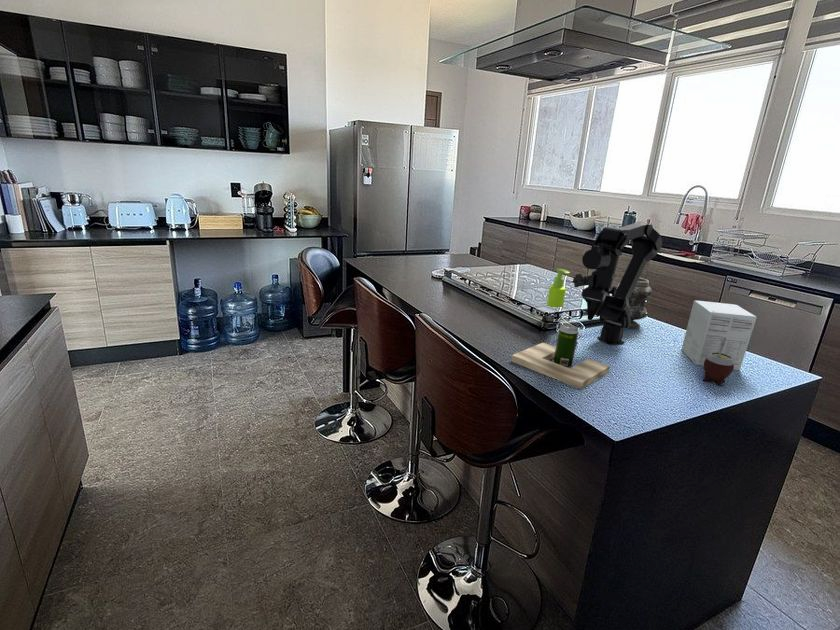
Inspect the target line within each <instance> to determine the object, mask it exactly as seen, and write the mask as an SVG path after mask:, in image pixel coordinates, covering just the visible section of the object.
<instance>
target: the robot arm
mask: <svg viewBox="0 0 840 630" xmlns="http://www.w3.org/2000/svg"><path fill="white" fill-rule="evenodd" d="M629 241H630V242H631V244H632V246H631V253H632V257H631V259H630V261H629V263H628V265H627V267H626V269H625V272H624V273H623V276H622V278H621V280H620V281H619V283H620V284H619V283H618V284H619V286H618V285H617V287H616V286H615V285H613V284H614V283H613V282H614V279H615V278H616V276H617V273H616V271H617V270H616V269H617V266H618V263H619V259H620V256H622V255H623V253H622V250H623V249H624V247H626V246H627V245H628V244H629ZM662 246H663V239H662V237H661V234H660V233H659V232H658V230H655V228H654V227H653V224H652V223H650V222H645V221H635V222H634V223H631V224H628V225H624V226H621V227H616V226H614V227H613V226H604V227H603V228H602V230H601V231H600V232H599V234H598V235H597V236H596V239H594V241H593V243H592V244H591V248H590V249H588V250H587V251H586V252H585V253H584V254H583V255H582V259H581V260H582V261H581V262H582V264H583V266H584V267H585V268H586V269H589V270H593V271H591V274H589V275H584V274H583V273H578V274H577V273H576V274H575V275H574V277H573V278H572V283H573V286H574V288H579V287H584V286H587V287H584V288H583V289H582V291H581V295H580V296H581V297H582V299H583V300H584V301H585V302H586V307H587V311H586V313H587V320H588V321H592V320H593V318H594V317H595V316H596V317H599V322H600V323H603V325H602V327H601V331H600V336H599V335H598V336H597V337H596V338H597V339H598V340H600V341H602V342H604V343H605V344H608V345H621V344H625V343H626V342H625V341H623V340H622V339H623V334H624V330H625V329H630V328H629V326H630V323H631V318H630V315H629V310H630V306H629V298H630V296H631V294H632V292H633V290H634V288H635V286H636V284H637V281H638V279H639V278H641V275H642V273H643V272H644V270H645V267H646V265H647V263H648V262H649V261H651V260H652V259H654V258H656V256H657V254H658V252H659V251H661V249H662Z"/></svg>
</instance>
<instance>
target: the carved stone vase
mask: <svg viewBox="0 0 840 630" xmlns="http://www.w3.org/2000/svg"><path fill="white" fill-rule="evenodd" d="M619 284H620V282H619V283H618V284H617V287H618V286H619ZM651 294H652V288H651V287H650V283H649V279H646V278H643V277H639V279H638V281H637V284H636V286H635V288H634V290H633V292H632V294H631V296H630V298H629V306H630V310H629V315H630V318H631V323H630V326H629V328H628V329H640V327H641V324H640V323H638V322H637V321H635V320H640V319H642V318H645V317H646V315H647V312H648V311H647V309H646V307H645V305H646V301H647V297H649V296H651Z"/></svg>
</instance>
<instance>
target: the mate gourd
mask: <svg viewBox="0 0 840 630" xmlns="http://www.w3.org/2000/svg"><path fill="white" fill-rule="evenodd" d="M725 341H726V338H724V339H723V342H722V343H721V348H720V351H719V353H717V352H713V353H710V354H709V355H708V356H707V357H706V359H705V361H704V366H703V371H704V378H703V379H702V381H703V382H706V383H714V384H715V385H717V386H719V387H723V383H724V384H725V383H726V379H728V378H729V377H730V375H731V374H732V373H733V371H734V370H733V369H734V361H733V359H732V358H731V357H730V356H728V355H726V354H722V350H723V347H724V345H725Z"/></svg>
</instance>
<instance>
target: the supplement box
mask: <svg viewBox="0 0 840 630" xmlns="http://www.w3.org/2000/svg"><path fill="white" fill-rule="evenodd" d="M691 307H692V308H691V311H690V314H689V320H688V322H687V323H688V324H687V327H686V329H685V334H684V337H683V338H684V339H683V343H682V346H681V349H680V350H681V351H682V352H683V353H684V354H685V356H687V357H688V359H690V361H691V362H693V364H694V365H697V366H703V367H704V361H705V359H706V357H707V356H708V355H709V354H710V353H713V352H717V353H719V351H720V348H721V343H722V342H723V339H724V338H726V341H725V345H724V347H723V350H722V354H726V355H728V356H730V357H731V358H732V359H733V361H734V369H733V371H740V370H741V368H742V364H743V363H744V359H745V355H746V352H747V349H748V346H749V342H750V340H751V338H752V337H751V336H752V333H753V330H754V328H755V324H756V320H757V317H758V316H756V315H755V314H753V313H752V312H749V311H747V310H746V309H744V308H743V307H741V306H740V305H738V304H733V303H725V302H724V303H723V302H716V301H715V302H713V301H706V300H705V301H704V300H693V303H692V306H691Z"/></svg>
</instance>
